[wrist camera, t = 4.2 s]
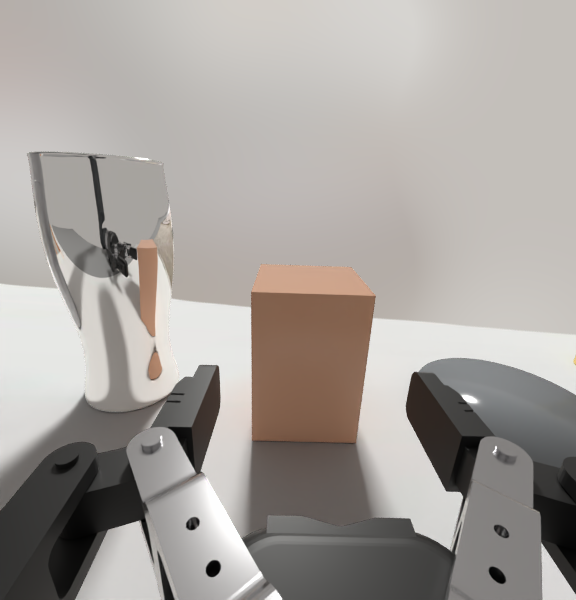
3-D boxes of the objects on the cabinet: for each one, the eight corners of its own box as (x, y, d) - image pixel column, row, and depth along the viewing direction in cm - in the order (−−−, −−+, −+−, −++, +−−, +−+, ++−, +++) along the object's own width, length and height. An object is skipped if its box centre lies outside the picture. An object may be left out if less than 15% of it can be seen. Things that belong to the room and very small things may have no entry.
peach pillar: (252, 440, 18) (251, 292, 15) (260, 380, 23) (261, 264, 20) (355, 443, 18) (375, 295, 15) (339, 382, 24) (351, 267, 21)
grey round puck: (464, 483, 16) (469, 468, 15) (393, 366, 26) (395, 356, 26) (678, 488, 16) (687, 473, 15) (522, 370, 26) (526, 359, 26)
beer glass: (201, 390, 22) (186, 161, 17) (88, 435, 18) (24, 146, 13) (165, 352, 27) (145, 165, 22) (70, 380, 23) (18, 156, 18)
